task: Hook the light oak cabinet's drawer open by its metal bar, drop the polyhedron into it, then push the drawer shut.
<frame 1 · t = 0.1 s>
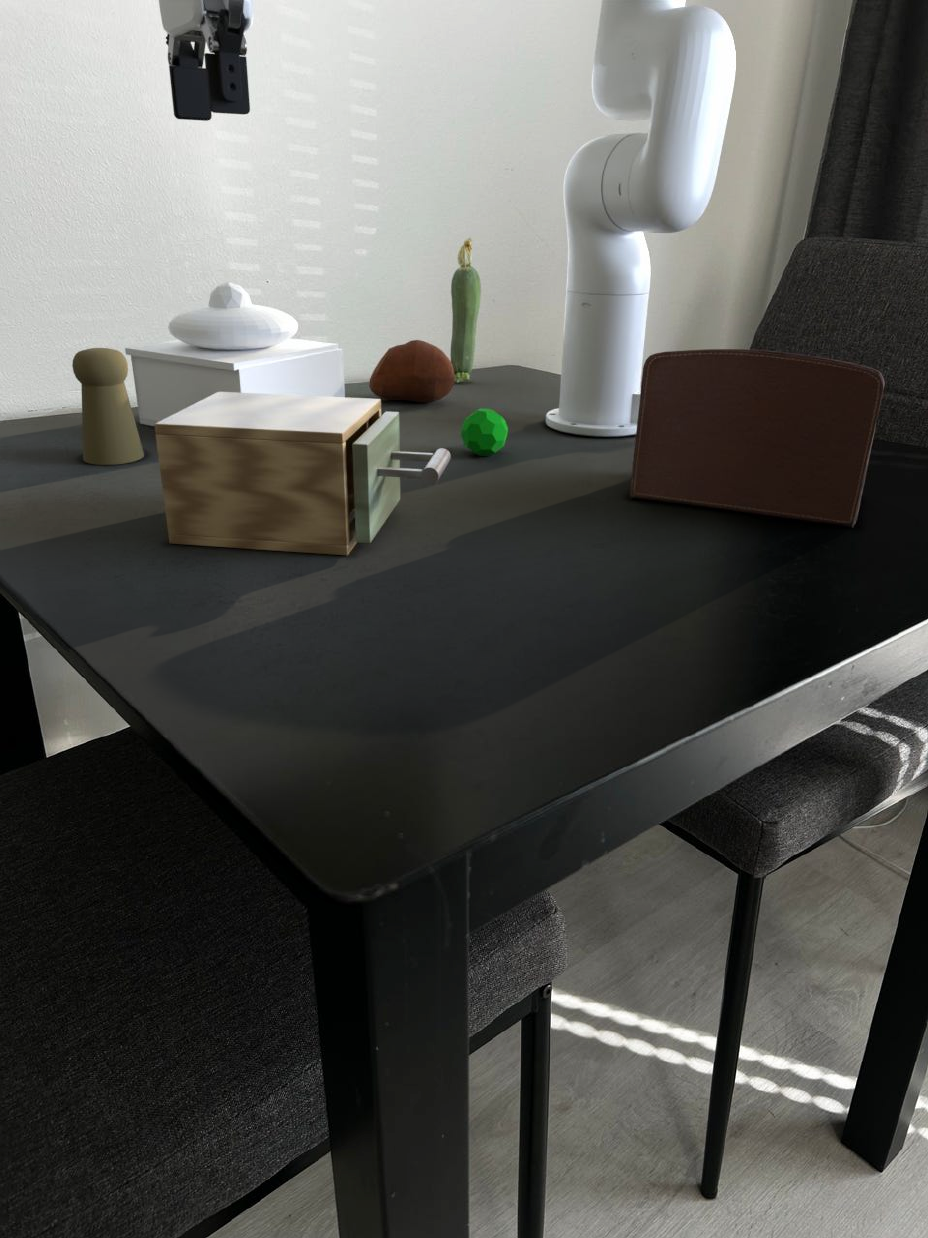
hand: (210, 116, 77), 31 cm above the table, tool pointing down, fingers open, 9 cm apart
cabinet: (283, 523, 77), on the table
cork: (114, 458, 96), on the table
polyhedron: (483, 455, 99), on the table
butter dish: (243, 421, 112), on the table
vegetable: (464, 382, 137), on the table
potato: (412, 401, 124), on the table
drawer: (334, 471, 75), point 5 cm above the table, slide at 0.5 cm
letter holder: (742, 500, 86), on the table
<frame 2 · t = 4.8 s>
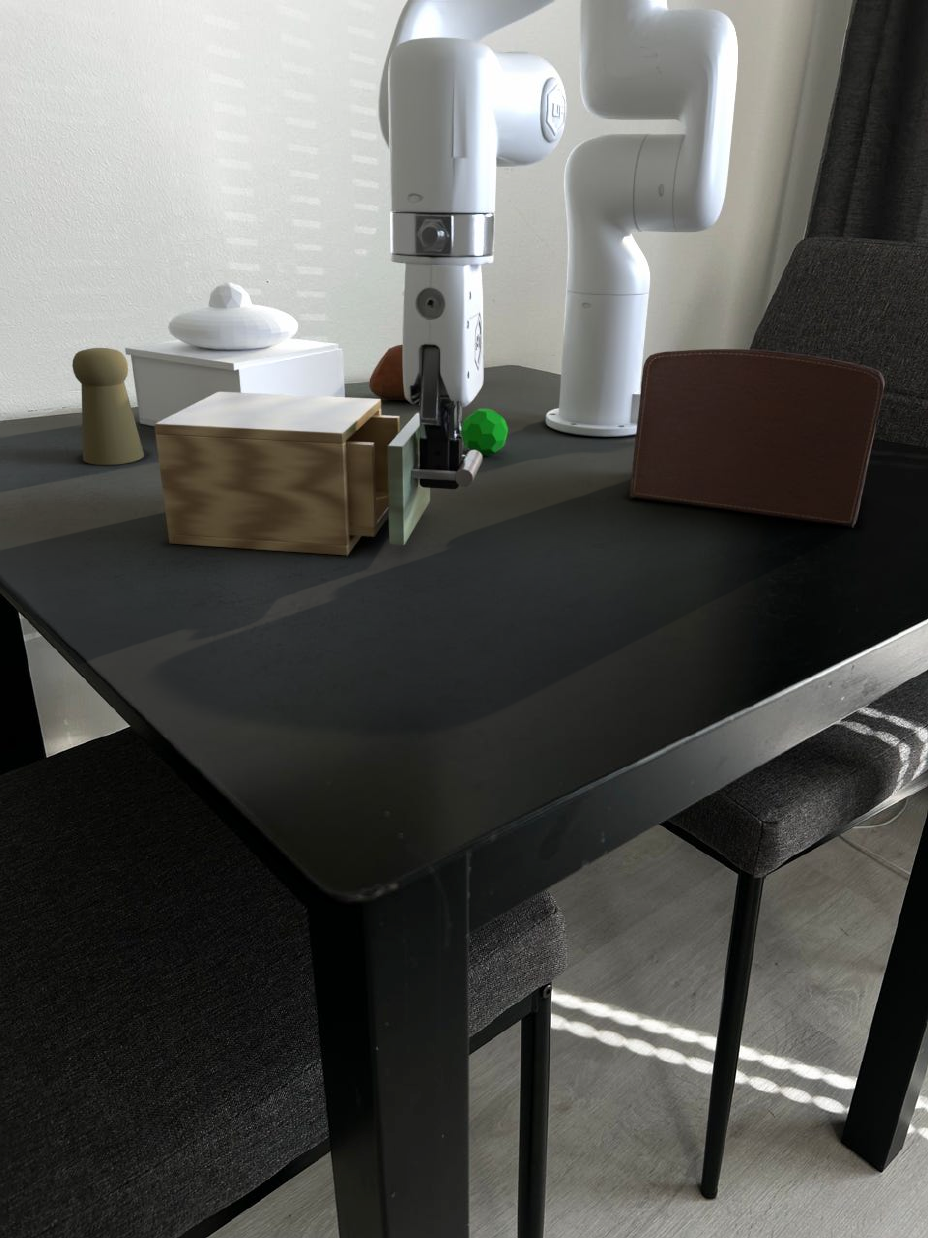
hand: (440, 485, 74), 4 cm above the table, tool pointing down, fingers closed
drawer: (366, 473, 74), point 5 cm above the table, slide at 3.2 cm, touching gripper
everything else where it was.
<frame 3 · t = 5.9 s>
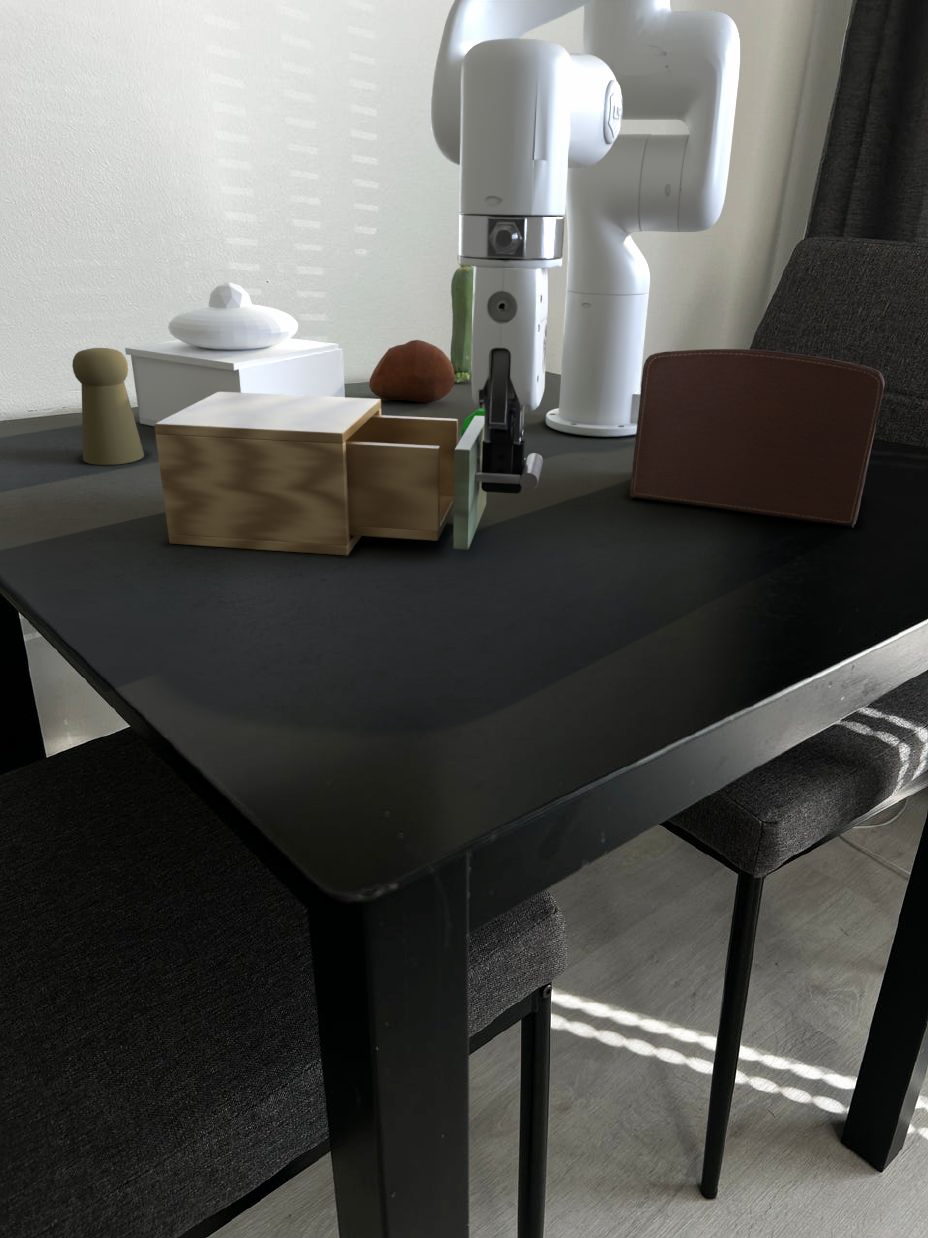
hand: (502, 489, 73), 4 cm above the table, tool pointing down, fingers closed
drawer: (426, 476, 74), point 5 cm above the table, slide at 8.2 cm, touching gripper
everything else where it was.
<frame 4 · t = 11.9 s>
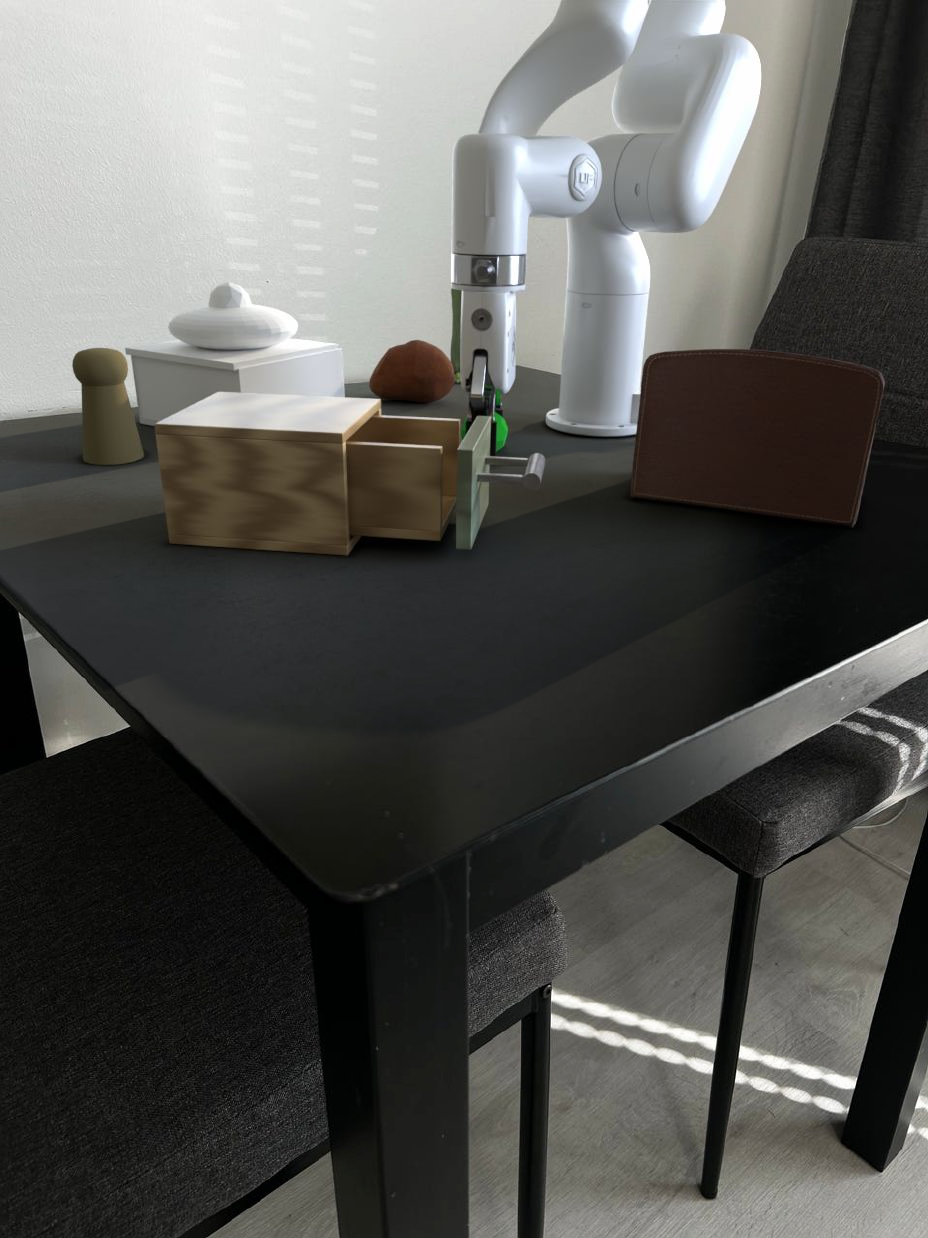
hand: (484, 450, 99), 0 cm above the table, tool pointing down, fingers closed on polyhedron, 5 cm apart
polyhedron: (483, 455, 99), on the table, touching gripper
drawer: (428, 477, 74), point 5 cm above the table, slide at 8.4 cm
everything else where it was.
when the fingers open (8 cm above the table, at t = 18.2 s): polyhedron drops 4 cm, resting on drawer.
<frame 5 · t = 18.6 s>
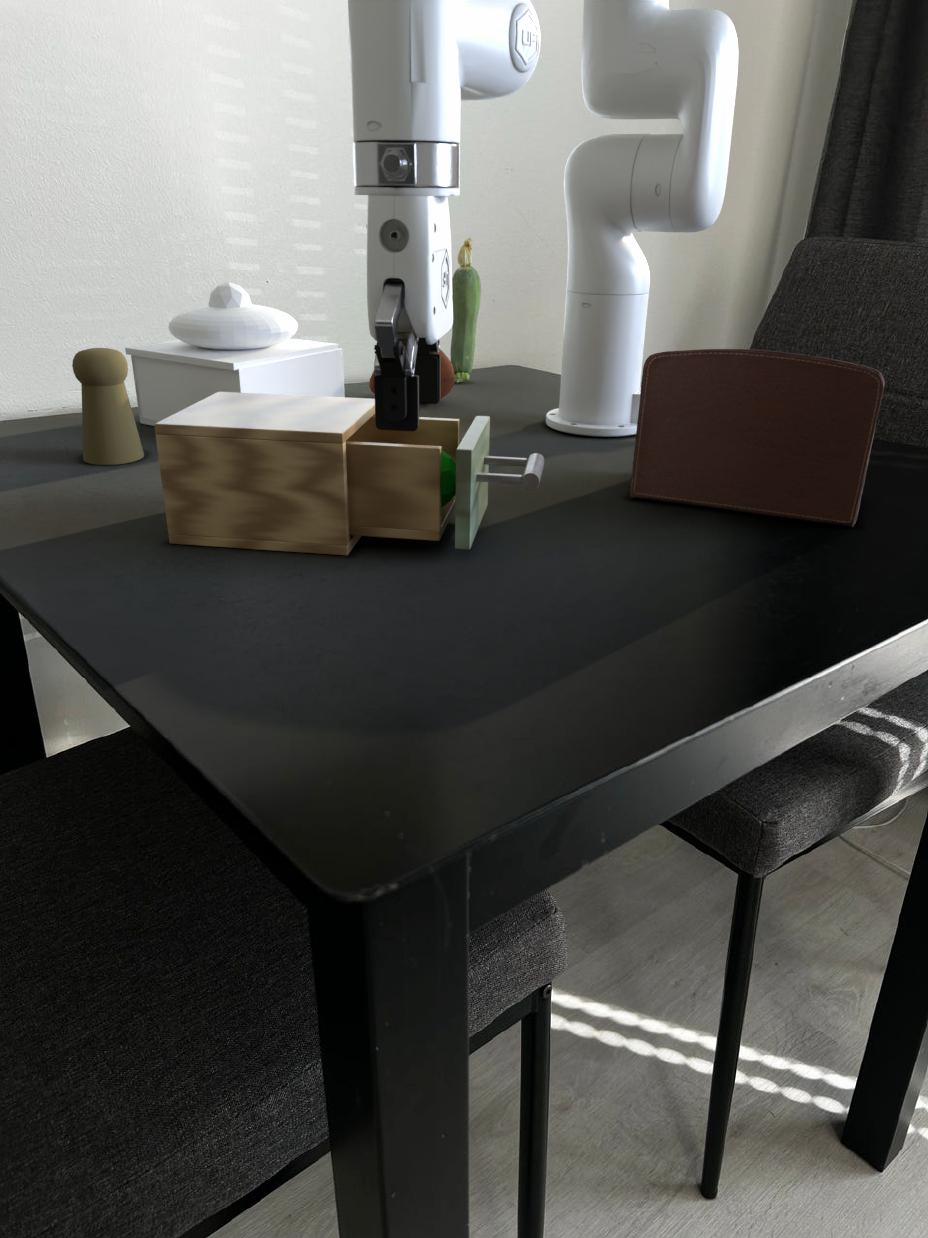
hand: (410, 414, 72), 10 cm above the table, tool pointing down, fingers open, 9 cm apart
polyhedron: (413, 494, 74), point 3 cm above the table, touching drawer
drawer: (428, 476, 74), point 5 cm above the table, slide at 8.3 cm, touching polyhedron
everything else where it was.
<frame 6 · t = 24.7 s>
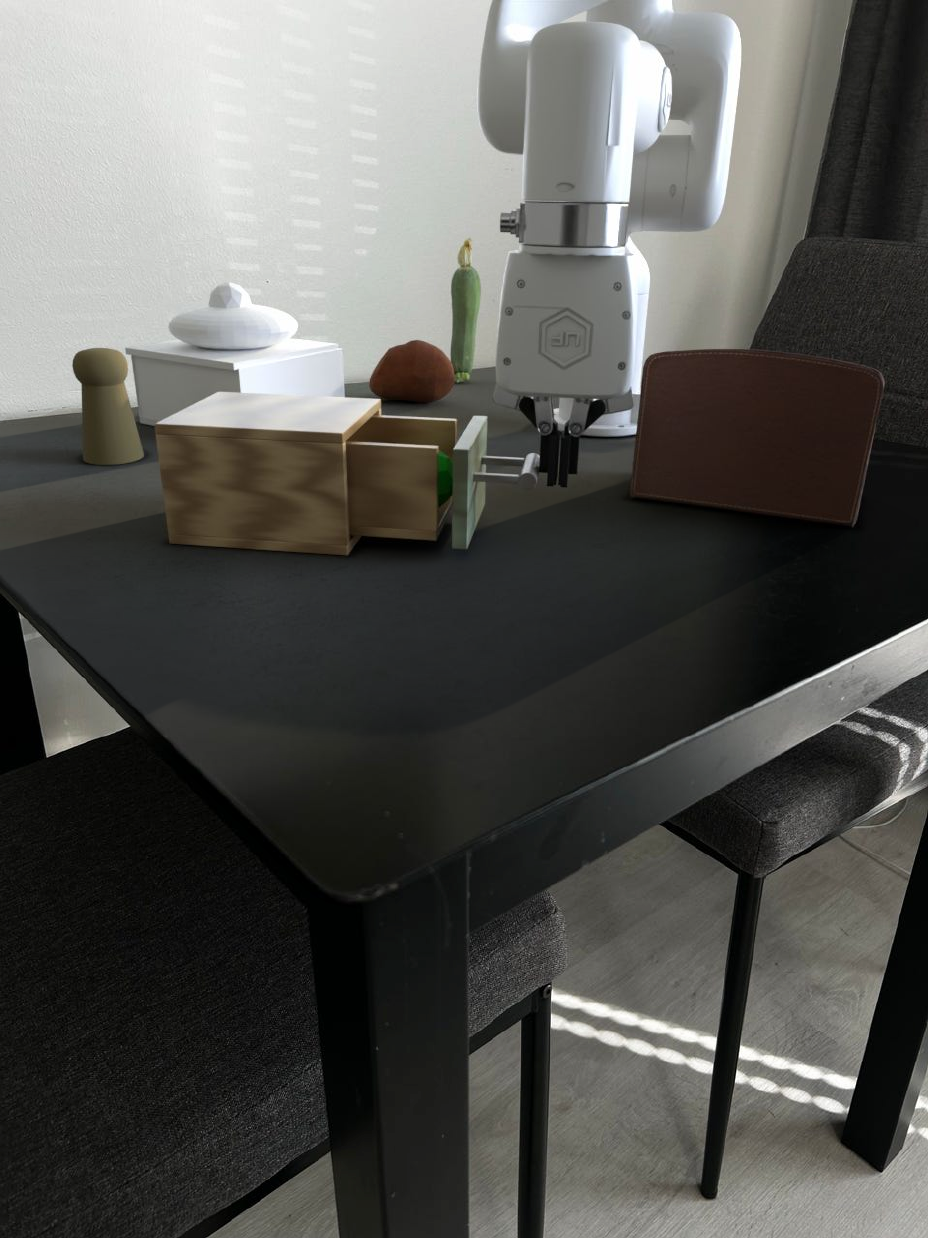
hand: (557, 481, 72), 5 cm above the table, tool pointing down, fingers closed
drawer: (425, 476, 74), point 5 cm above the table, slide at 8.1 cm, touching gripper, polyhedron
everything else where it was.
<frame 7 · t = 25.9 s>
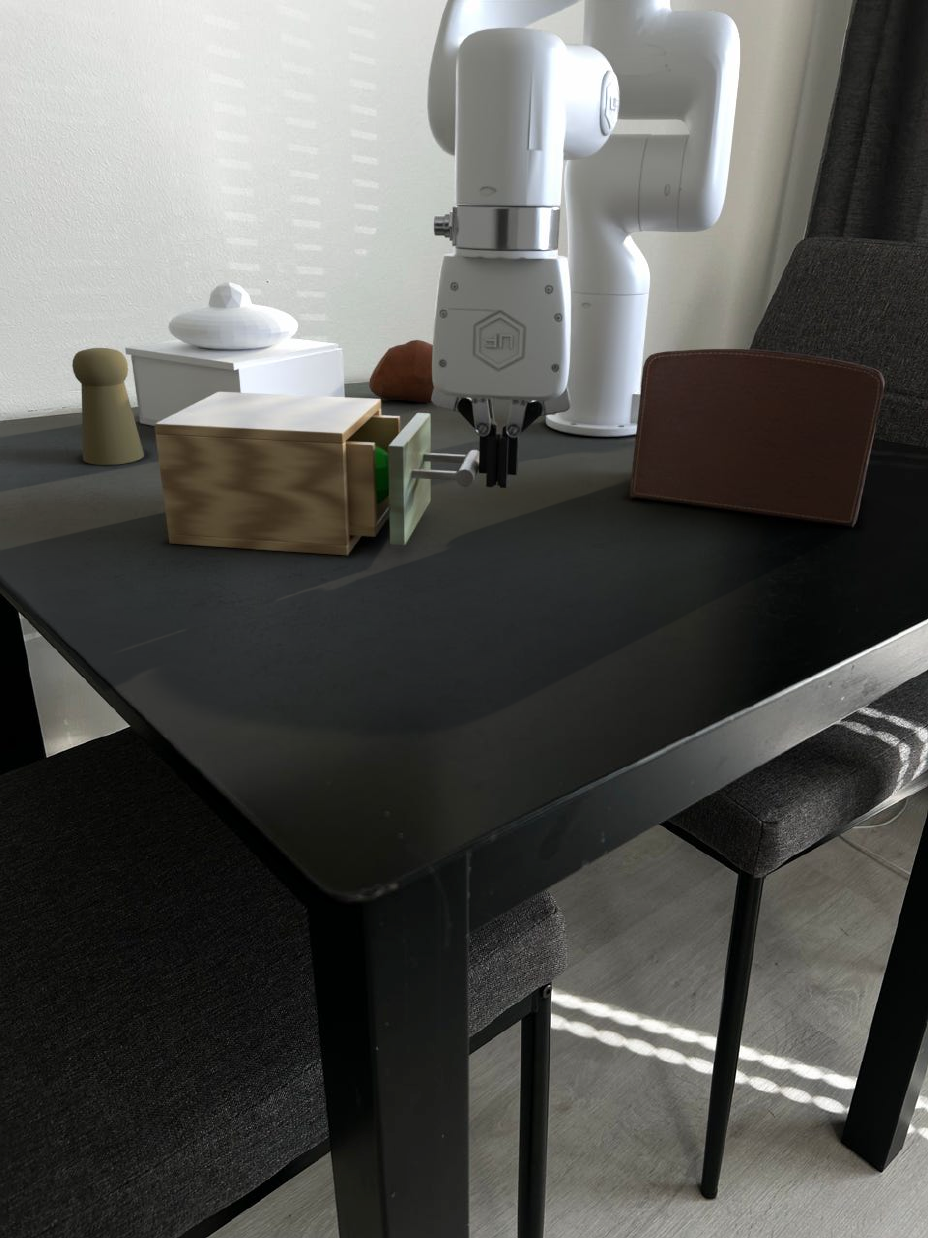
hand: (498, 482, 73), 5 cm above the table, tool pointing down, fingers closed
polyhedron: (352, 490, 75), point 3 cm above the table, touching drawer
drawer: (366, 473, 74), point 5 cm above the table, slide at 3.2 cm, touching gripper, polyhedron
everything else where it was.
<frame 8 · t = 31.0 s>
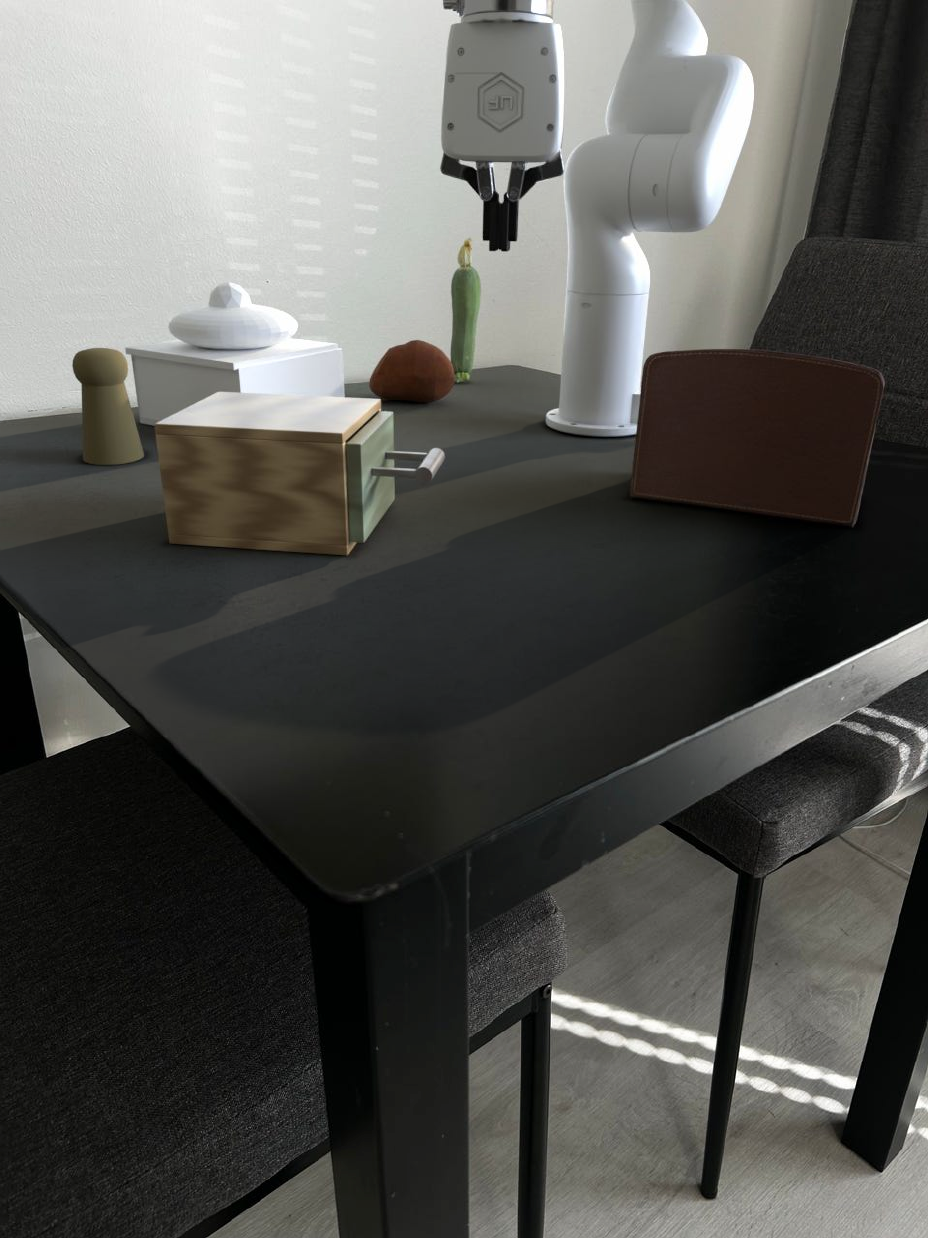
hand: (499, 249, 82), 21 cm above the table, tool pointing down, fingers closed
polyhedron: (314, 489, 75), point 3 cm above the table, touching drawer
drawer: (328, 471, 75), point 5 cm above the table, slide at 0.0 cm, touching cabinet, polyhedron
everything else where it was.
at the end: drawer pulled out 8.4 cm at the most during the clip, back to where it started at the end; polyhedron inside the target area in the cabinet (3.0 cm from its centre), point 3.3 cm above the cabinet's base; drawer slide at 0.0 cm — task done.
